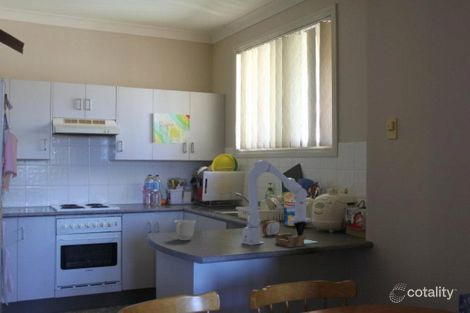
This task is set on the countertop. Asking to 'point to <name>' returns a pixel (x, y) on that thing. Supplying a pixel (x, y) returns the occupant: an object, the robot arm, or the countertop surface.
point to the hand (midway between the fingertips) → (300, 236)
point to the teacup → (184, 228)
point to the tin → (271, 228)
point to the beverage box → (289, 208)
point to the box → (289, 240)
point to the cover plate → (309, 242)
